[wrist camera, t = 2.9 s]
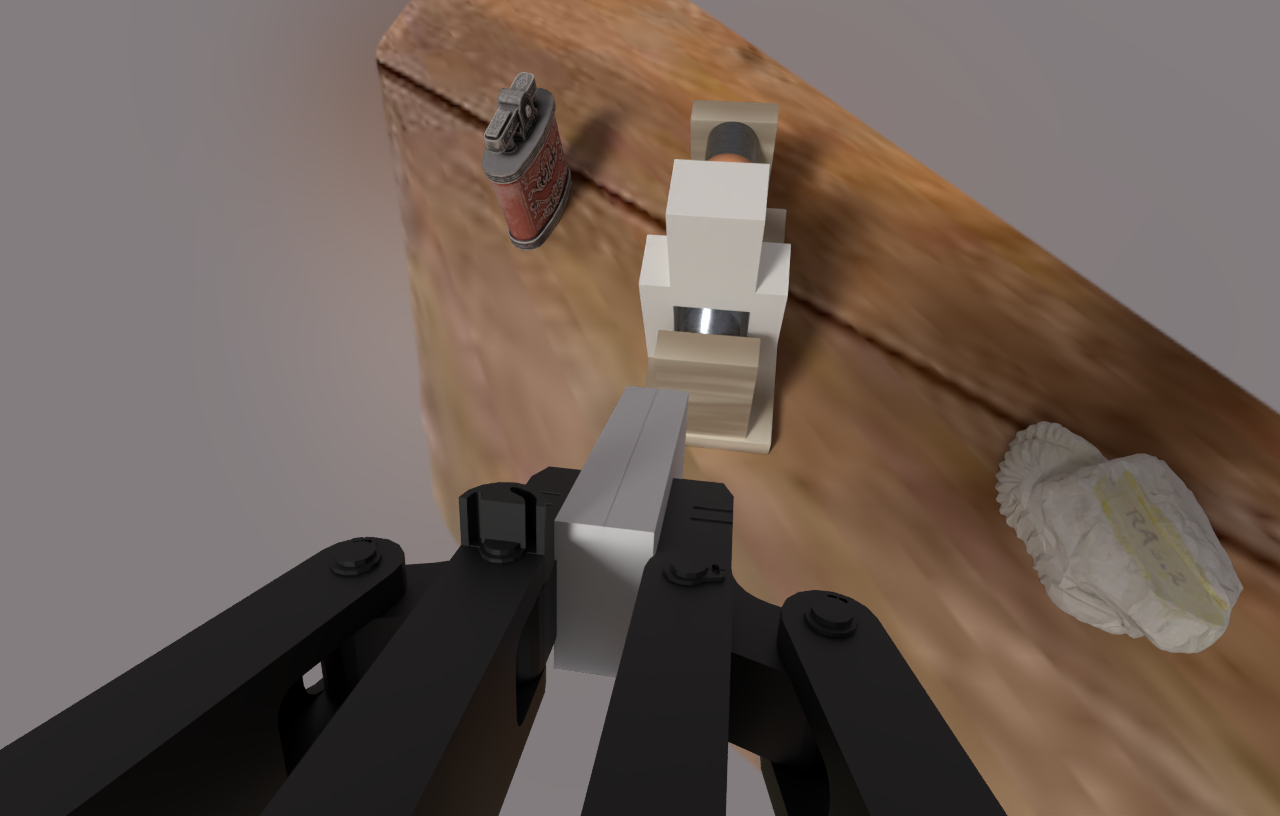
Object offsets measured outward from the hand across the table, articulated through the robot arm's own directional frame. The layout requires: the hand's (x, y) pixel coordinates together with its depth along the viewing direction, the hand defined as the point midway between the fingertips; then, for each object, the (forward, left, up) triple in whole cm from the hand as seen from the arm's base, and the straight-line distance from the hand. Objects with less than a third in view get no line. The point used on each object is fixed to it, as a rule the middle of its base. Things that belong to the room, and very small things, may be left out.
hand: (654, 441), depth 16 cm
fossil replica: (-9, -20, -24) cm, 33 cm away
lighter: (+30, -7, -24) cm, 39 cm away
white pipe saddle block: (+10, -9, -18) cm, 23 cm away
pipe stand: (+14, -12, -24) cm, 30 cm away
